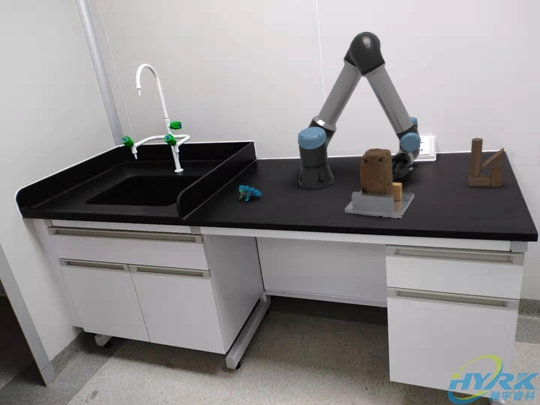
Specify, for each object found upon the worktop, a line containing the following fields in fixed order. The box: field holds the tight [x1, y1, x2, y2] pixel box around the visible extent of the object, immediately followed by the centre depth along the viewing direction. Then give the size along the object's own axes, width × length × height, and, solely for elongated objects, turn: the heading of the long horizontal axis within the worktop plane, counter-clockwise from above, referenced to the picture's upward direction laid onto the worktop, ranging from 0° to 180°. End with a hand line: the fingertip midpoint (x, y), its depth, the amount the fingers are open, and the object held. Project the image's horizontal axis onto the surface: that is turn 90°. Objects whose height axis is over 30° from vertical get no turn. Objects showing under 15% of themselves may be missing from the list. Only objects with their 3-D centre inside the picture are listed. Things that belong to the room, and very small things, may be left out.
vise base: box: [344, 190, 415, 219], centre depth 152 cm, size 20×19×8 cm
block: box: [359, 147, 394, 195], centre depth 147 cm, size 11×8×20 cm
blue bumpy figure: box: [238, 184, 262, 202], centre depth 174 cm, size 11×6×10 cm
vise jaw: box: [392, 182, 403, 200], centre depth 153 cm, size 14×2×6 cm, turn 59°
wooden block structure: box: [468, 137, 505, 188], centre depth 152 cm, size 4×11×18 cm, turn 67°
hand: (384, 181), depth 155 cm, fingers closed
